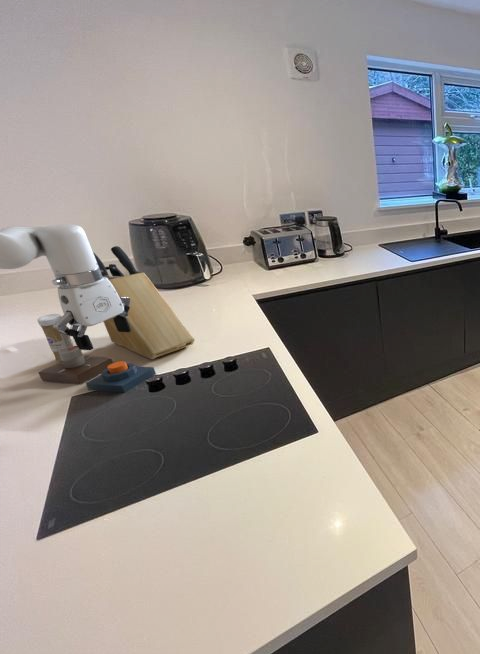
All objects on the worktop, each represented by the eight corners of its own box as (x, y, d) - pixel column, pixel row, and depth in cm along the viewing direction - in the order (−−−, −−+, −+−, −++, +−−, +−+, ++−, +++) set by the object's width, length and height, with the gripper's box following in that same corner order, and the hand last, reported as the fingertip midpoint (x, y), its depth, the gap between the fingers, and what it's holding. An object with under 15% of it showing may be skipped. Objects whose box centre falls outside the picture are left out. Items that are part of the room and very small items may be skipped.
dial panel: (42, 381, 106) (37, 371, 105) (79, 364, 114) (74, 354, 113) (80, 384, 105) (76, 374, 104) (114, 366, 113) (110, 357, 112)
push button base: (88, 390, 103) (82, 377, 101) (122, 371, 111) (117, 359, 110) (124, 393, 102) (119, 379, 101) (156, 374, 111) (151, 361, 109)
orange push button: (105, 373, 104) (103, 367, 103) (119, 366, 107) (117, 360, 107) (118, 374, 104) (116, 368, 103) (131, 367, 107) (129, 361, 106)
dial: (74, 368, 106) (67, 353, 105) (60, 367, 107) (53, 352, 105) (90, 361, 110) (83, 345, 108) (76, 360, 110) (69, 345, 109)
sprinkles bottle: (51, 362, 114) (31, 320, 109) (65, 354, 118) (46, 313, 113) (70, 361, 115) (51, 319, 110) (83, 353, 119) (65, 313, 114)
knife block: (139, 323, 139) (107, 236, 127) (198, 347, 125) (168, 251, 113) (97, 336, 129) (58, 243, 117) (155, 363, 115) (118, 261, 103)
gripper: (53, 290, 87) (84, 358, 94) (129, 267, 103) (150, 326, 110) (22, 289, 88) (55, 356, 94) (102, 265, 104) (125, 324, 110)
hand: (106, 340), depth 102 cm, fingers open, 9 cm apart
